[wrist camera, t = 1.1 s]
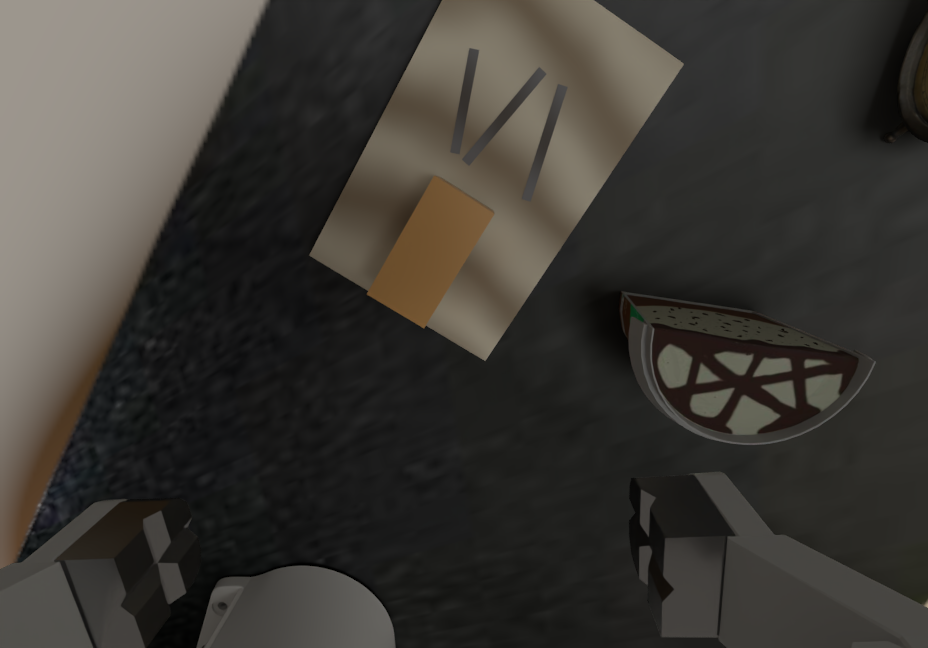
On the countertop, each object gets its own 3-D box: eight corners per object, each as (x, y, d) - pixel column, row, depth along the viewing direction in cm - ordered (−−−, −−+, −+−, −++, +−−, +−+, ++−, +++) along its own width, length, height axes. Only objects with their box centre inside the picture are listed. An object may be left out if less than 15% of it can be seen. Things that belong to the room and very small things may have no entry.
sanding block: (431, 312, 34) (423, 328, 30) (380, 281, 33) (366, 294, 30) (493, 210, 32) (494, 213, 28) (440, 176, 31) (434, 175, 28)
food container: (581, 369, 36) (615, 436, 26) (599, 287, 34) (642, 326, 25) (748, 394, 36) (844, 470, 26) (775, 313, 34) (887, 363, 25)
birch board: (485, 353, 36) (485, 361, 35) (316, 252, 35) (308, 255, 33) (674, 69, 31) (684, 63, 29) (482, -65, 29) (482, -79, 28)
